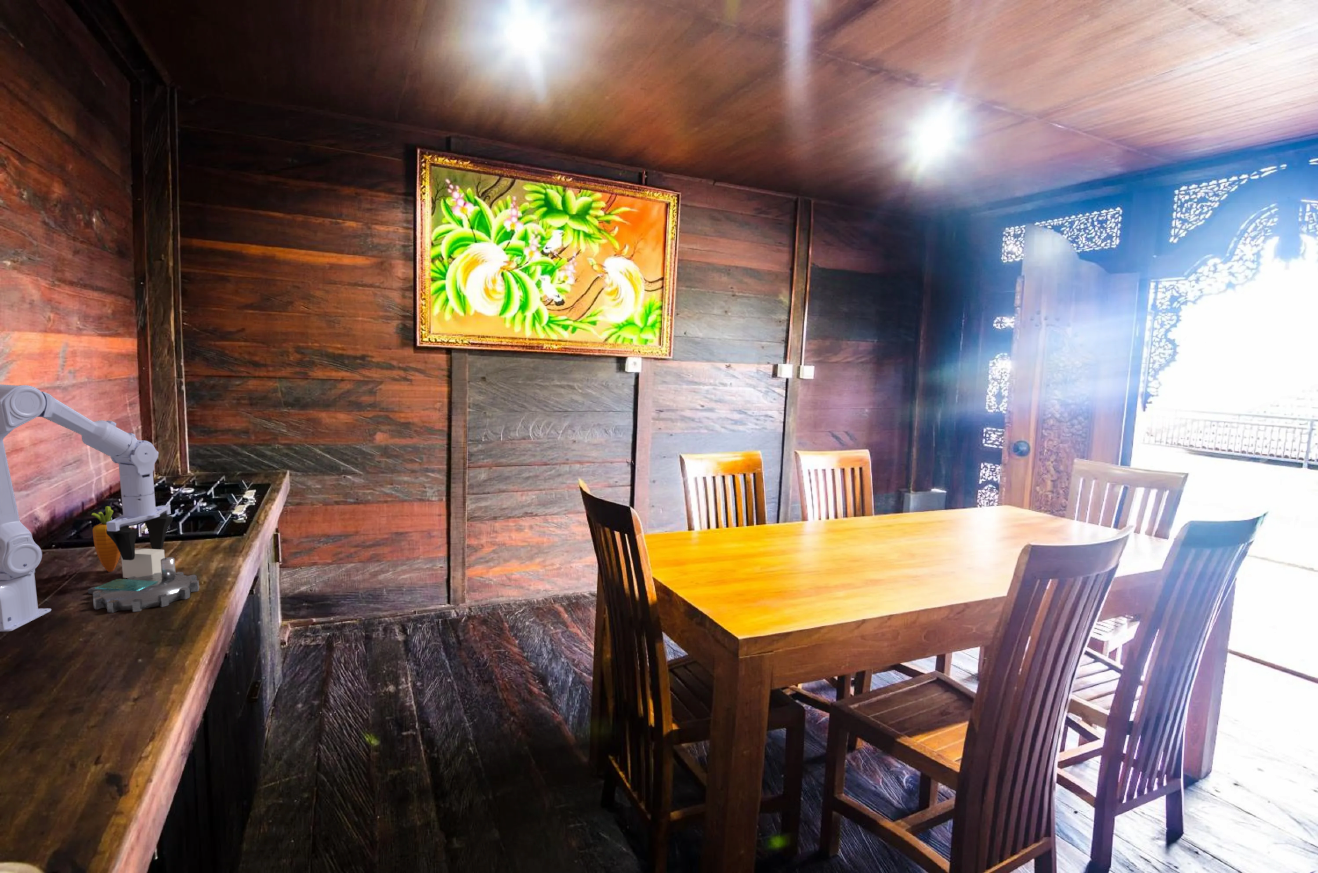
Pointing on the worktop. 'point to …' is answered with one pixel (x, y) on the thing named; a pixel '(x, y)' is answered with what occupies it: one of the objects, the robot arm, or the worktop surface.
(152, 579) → the sprocket
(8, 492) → the robot arm
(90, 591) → the timing pointer
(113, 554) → the carrot
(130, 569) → the white rectangular block
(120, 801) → the worktop surface
